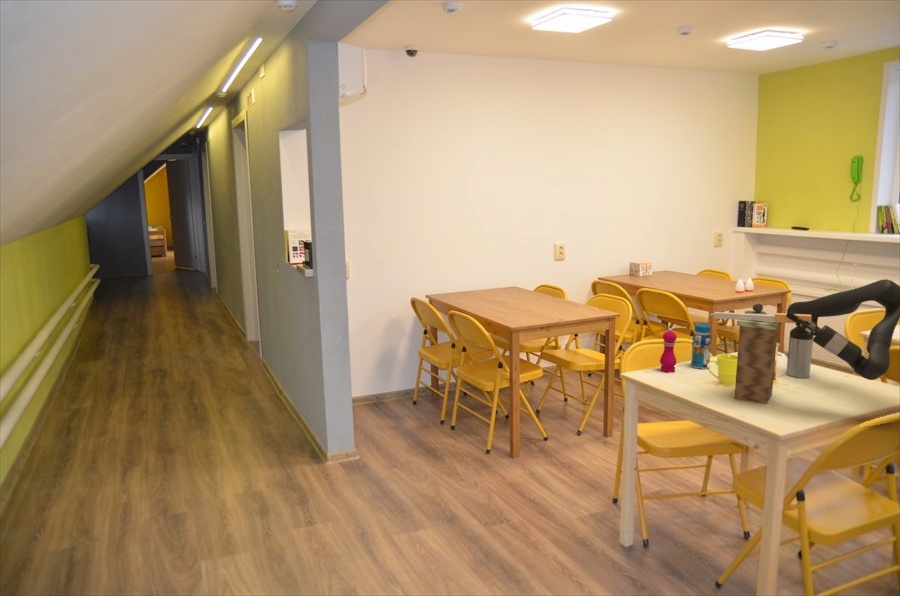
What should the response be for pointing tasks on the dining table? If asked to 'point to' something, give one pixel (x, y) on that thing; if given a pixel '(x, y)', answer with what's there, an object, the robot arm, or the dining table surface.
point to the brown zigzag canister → (756, 360)
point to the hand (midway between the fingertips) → (788, 313)
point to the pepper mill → (668, 352)
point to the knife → (760, 317)
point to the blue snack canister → (701, 346)
